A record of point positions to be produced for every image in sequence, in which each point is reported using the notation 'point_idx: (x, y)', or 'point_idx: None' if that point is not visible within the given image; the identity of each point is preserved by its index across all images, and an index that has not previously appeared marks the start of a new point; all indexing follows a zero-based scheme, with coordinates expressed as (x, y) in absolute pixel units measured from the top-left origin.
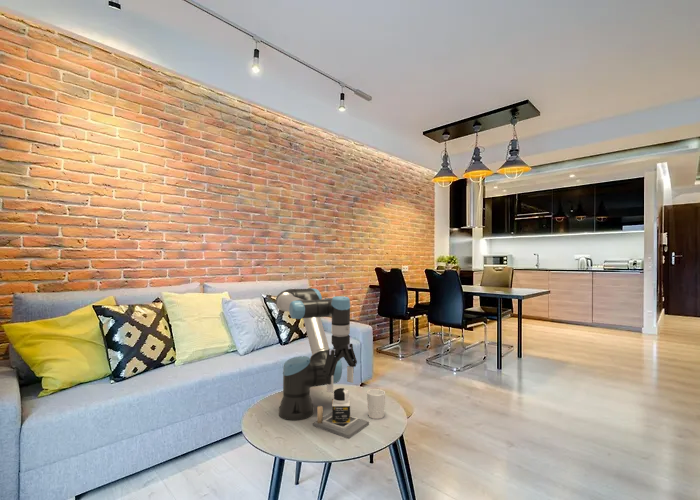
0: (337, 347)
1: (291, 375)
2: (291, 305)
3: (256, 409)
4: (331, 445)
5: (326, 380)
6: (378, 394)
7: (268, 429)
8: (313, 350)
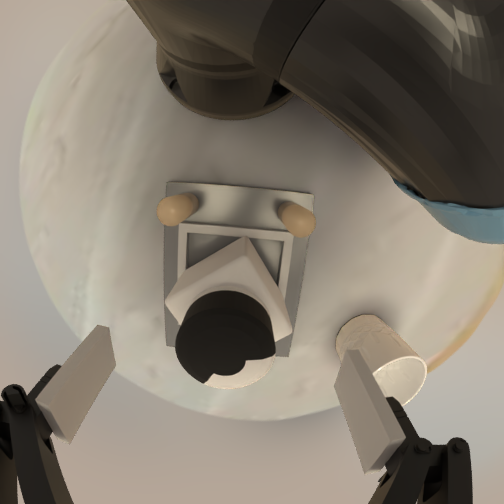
0: None
1: None
2: None
3: None
4: (110, 314)
5: (41, 381)
6: (413, 366)
7: (83, 80)
8: None
